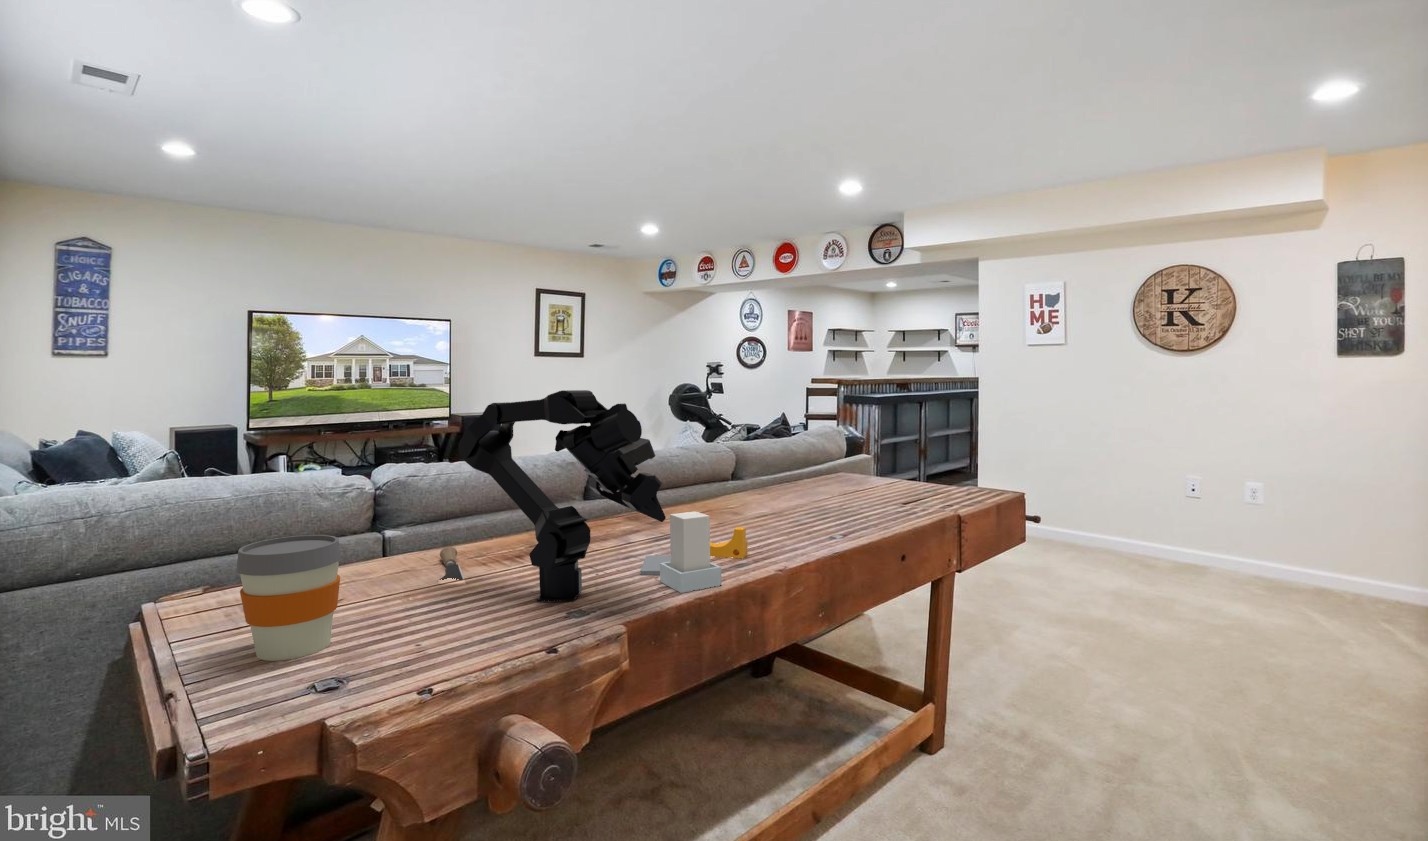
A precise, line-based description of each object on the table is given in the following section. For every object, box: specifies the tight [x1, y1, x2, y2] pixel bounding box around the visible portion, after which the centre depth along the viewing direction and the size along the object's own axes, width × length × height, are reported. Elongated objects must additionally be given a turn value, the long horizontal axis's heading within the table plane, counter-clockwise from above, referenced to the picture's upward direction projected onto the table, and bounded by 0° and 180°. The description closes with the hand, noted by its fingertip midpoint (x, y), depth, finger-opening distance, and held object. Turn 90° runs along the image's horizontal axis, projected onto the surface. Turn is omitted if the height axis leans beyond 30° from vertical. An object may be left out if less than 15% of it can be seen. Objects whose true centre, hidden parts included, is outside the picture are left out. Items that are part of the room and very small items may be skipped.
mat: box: [639, 554, 670, 576], centre depth 135 cm, size 12×12×1 cm
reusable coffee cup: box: [236, 534, 342, 662], centre depth 94 cm, size 13×13×15 cm
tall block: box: [669, 511, 711, 573], centre depth 123 cm, size 6×6×13 cm
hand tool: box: [438, 546, 465, 580], centre depth 132 cm, size 6×3×25 cm
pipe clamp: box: [710, 526, 749, 559], centre depth 145 cm, size 12×4×6 cm, turn 74°
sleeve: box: [659, 561, 722, 594], centre depth 123 cm, size 8×8×4 cm
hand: (651, 514), depth 119 cm, fingers open, 9 cm apart
